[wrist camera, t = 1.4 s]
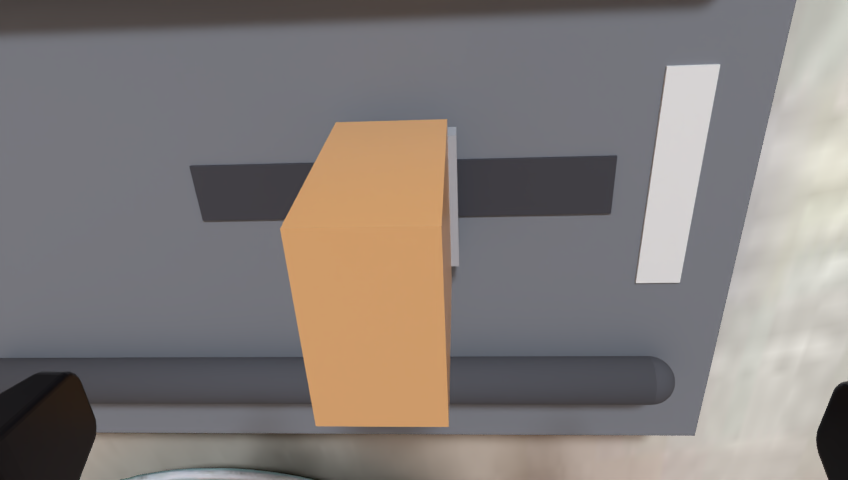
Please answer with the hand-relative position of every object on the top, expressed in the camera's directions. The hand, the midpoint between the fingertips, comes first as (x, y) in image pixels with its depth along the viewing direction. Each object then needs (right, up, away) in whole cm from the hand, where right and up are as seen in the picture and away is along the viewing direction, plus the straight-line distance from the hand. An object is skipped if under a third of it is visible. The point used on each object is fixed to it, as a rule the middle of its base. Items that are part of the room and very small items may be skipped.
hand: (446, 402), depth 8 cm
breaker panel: (-4, +5, +12) cm, 13 cm away
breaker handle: (-1, +3, +9) cm, 10 cm away
